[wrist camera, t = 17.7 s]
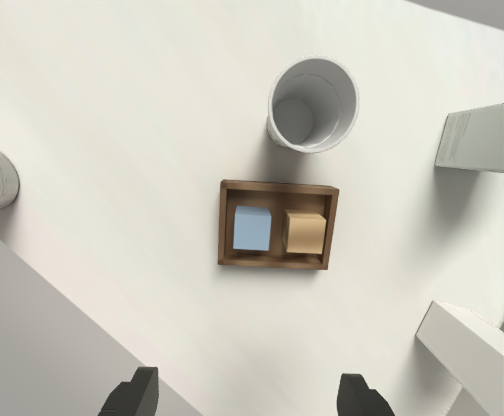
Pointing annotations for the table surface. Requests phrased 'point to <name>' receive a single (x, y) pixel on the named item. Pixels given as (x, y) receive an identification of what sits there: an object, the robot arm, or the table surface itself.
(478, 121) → the supplement box
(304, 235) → the oak block
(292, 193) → the tray
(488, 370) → the milk carton
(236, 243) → the slate block
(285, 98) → the cup
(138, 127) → the table surface
